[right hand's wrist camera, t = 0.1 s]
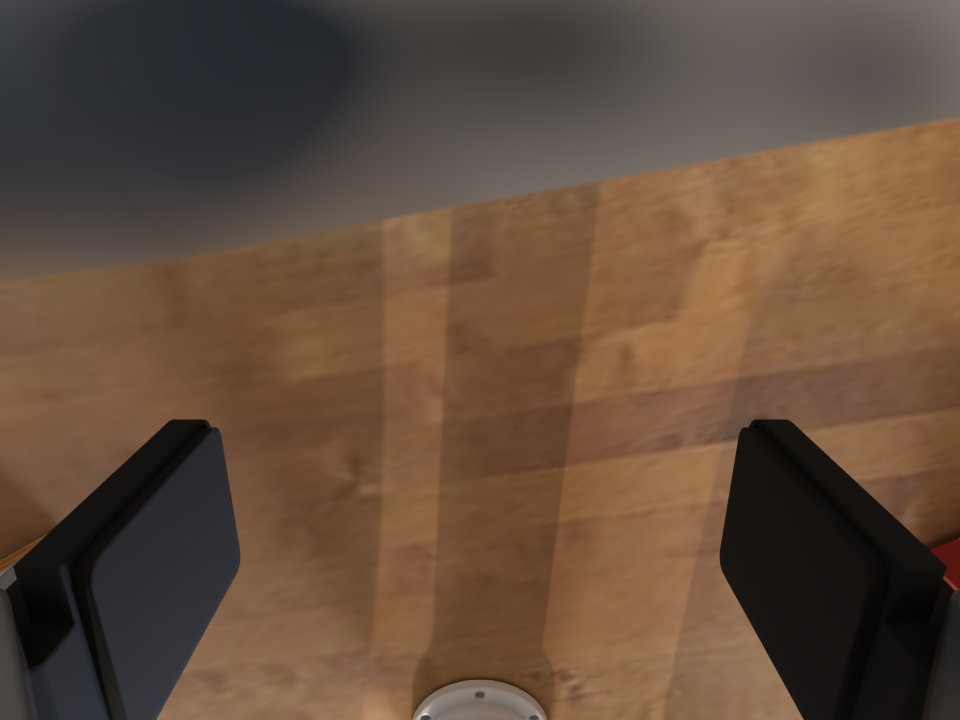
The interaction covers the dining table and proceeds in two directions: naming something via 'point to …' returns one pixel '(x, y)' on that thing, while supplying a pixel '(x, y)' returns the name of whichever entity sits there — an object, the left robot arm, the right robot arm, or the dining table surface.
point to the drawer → (950, 561)
